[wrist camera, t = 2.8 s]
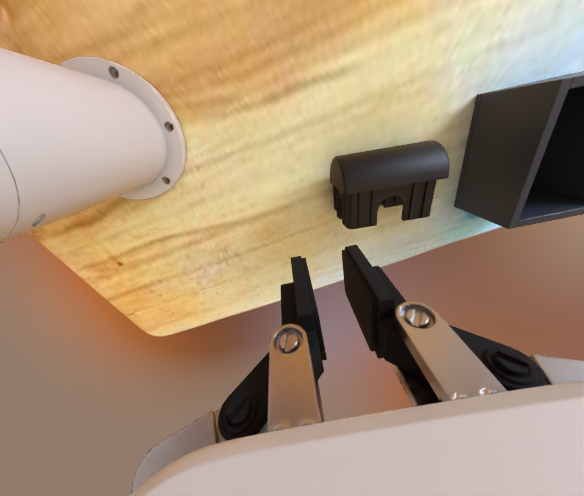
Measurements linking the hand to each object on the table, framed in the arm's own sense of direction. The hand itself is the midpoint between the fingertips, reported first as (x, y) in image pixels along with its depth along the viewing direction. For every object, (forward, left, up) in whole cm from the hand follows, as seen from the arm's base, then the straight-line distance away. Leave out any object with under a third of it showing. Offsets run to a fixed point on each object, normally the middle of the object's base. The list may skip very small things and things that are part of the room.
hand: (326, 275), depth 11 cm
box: (+26, 0, -17) cm, 31 cm away
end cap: (+9, 0, -17) cm, 20 cm away
